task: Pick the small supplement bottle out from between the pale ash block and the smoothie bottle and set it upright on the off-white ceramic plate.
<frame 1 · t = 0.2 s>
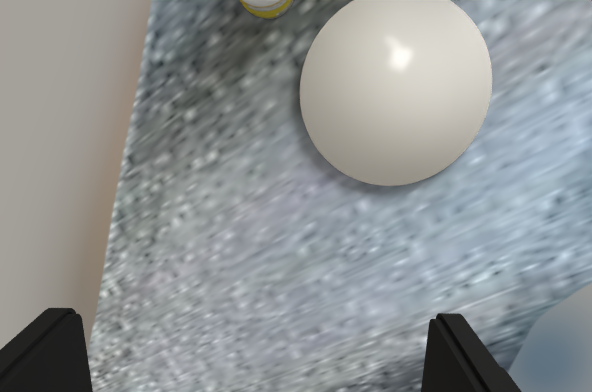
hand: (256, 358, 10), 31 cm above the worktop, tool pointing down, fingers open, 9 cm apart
ceramic plate: (391, 92, 38), on the worktop
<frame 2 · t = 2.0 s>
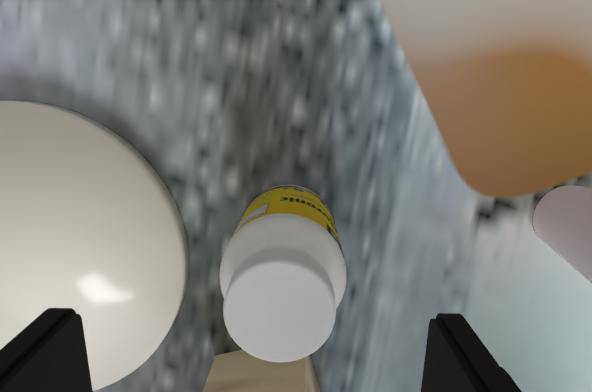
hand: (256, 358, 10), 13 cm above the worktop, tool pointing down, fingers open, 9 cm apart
smoothie: (563, 214, 23), on the worktop
ash block: (271, 384, 26), on the worktop
ceramic plate: (41, 253, 24), on the worktop
supplement bottle 2: (288, 225, 23), on the worktop
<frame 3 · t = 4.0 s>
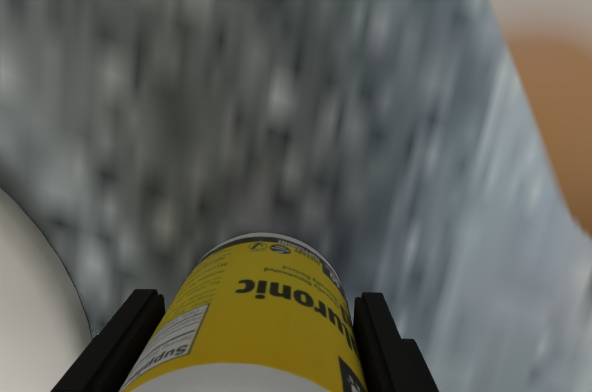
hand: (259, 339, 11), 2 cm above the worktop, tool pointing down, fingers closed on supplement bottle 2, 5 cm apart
supplement bottle 2: (265, 298, 13), on the worktop, touching gripper
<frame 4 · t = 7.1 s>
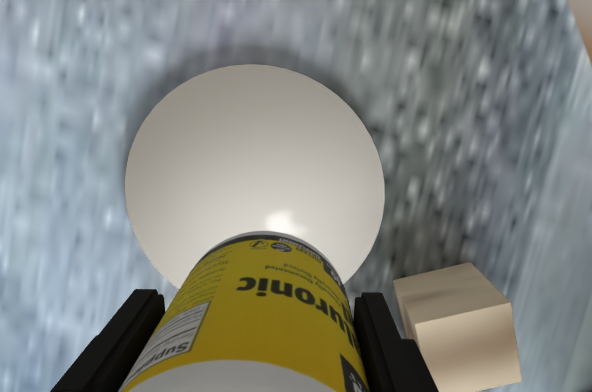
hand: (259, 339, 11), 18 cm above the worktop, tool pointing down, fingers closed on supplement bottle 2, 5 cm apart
ash block: (437, 304, 31), on the worktop
ceramic plate: (256, 195, 29), on the worktop
supplement bottle 2: (266, 297, 13), point 16 cm above the worktop, touching gripper
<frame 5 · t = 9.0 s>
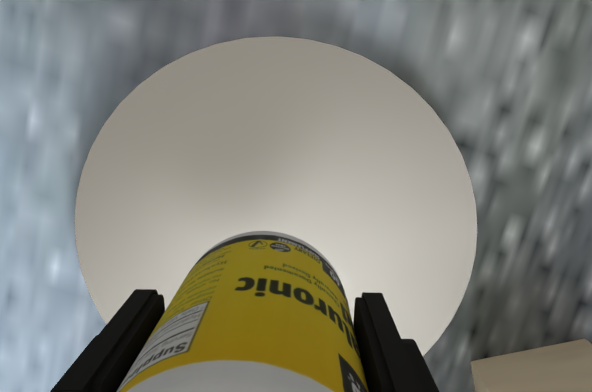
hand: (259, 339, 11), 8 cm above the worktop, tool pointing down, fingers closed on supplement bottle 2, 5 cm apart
ceramic plate: (277, 238, 19), on the worktop
supplement bottle 2: (265, 297, 13), point 6 cm above the worktop, touching gripper
when the fingers open (5 cm above the worktop, at t = 10.4 s): supplement bottle 2 drops 2 cm, resting on ceramic plate.
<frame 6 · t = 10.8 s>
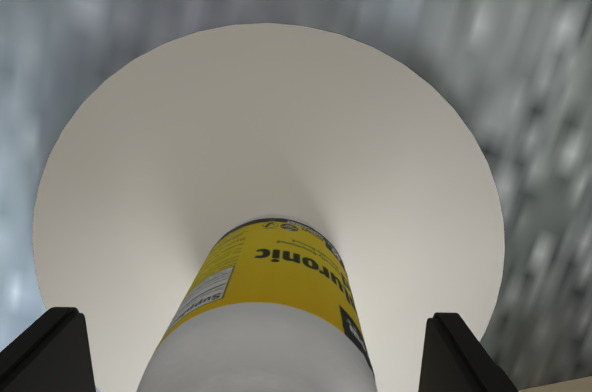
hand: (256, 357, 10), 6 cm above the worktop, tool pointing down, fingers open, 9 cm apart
ceramic plate: (271, 258, 16), on the worktop
supplement bottle 2: (275, 274, 15), point 1 cm above the worktop, touching ceramic plate
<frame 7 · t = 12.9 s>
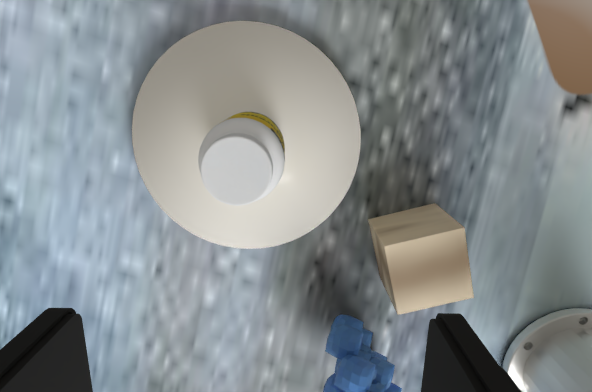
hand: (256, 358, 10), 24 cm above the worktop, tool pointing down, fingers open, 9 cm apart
ash block: (406, 241, 35), on the worktop
ceramic plate: (249, 141, 32), on the worktop
grapes: (346, 335, 38), on the worktop
supplement bottle 2: (250, 144, 31), point 1 cm above the worktop, touching ceramic plate
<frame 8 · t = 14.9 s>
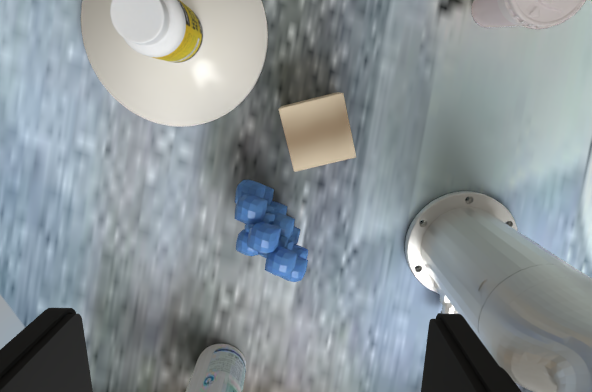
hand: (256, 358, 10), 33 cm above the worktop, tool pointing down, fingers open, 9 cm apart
smoothie: (489, 7, 39), on the worktop
ash block: (315, 127, 42), on the worktop
ceramic plate: (178, 35, 39), on the worktop
grapes: (268, 214, 45), on the worktop
spray can: (222, 362, 50), on the worktop
supplement bottle 2: (177, 33, 38), point 1 cm above the worktop, touching ceramic plate
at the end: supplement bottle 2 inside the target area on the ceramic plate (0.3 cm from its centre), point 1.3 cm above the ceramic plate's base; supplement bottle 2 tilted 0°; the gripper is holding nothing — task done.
